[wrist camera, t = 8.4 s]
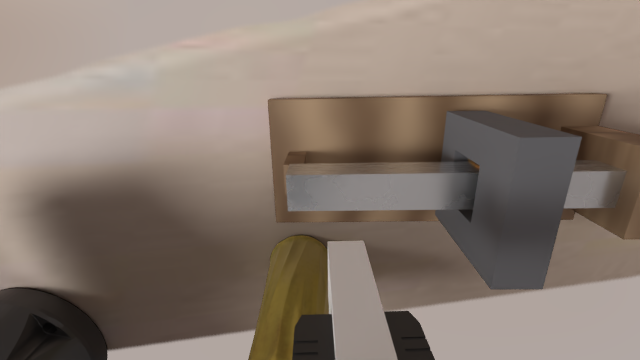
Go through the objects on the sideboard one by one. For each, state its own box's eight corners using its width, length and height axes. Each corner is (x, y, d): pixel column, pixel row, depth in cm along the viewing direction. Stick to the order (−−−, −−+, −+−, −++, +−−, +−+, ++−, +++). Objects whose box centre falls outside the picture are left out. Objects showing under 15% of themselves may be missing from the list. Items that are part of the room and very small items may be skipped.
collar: (435, 214, 28) (490, 289, 19) (446, 111, 25) (519, 137, 16) (469, 214, 28) (542, 289, 19) (485, 110, 25) (582, 136, 16)
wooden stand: (278, 216, 31) (260, 274, 22) (270, 98, 27) (244, 113, 18) (563, 213, 30) (657, 271, 22) (595, 93, 26) (723, 105, 18)
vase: (342, 254, 32) (356, 390, 18) (309, 295, 34) (299, 447, 20) (291, 223, 31) (265, 344, 17) (259, 267, 33) (213, 409, 19)
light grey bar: (291, 197, 24) (287, 214, 22) (289, 161, 23) (285, 173, 21) (583, 194, 24) (616, 210, 21) (593, 157, 23) (629, 169, 20)
